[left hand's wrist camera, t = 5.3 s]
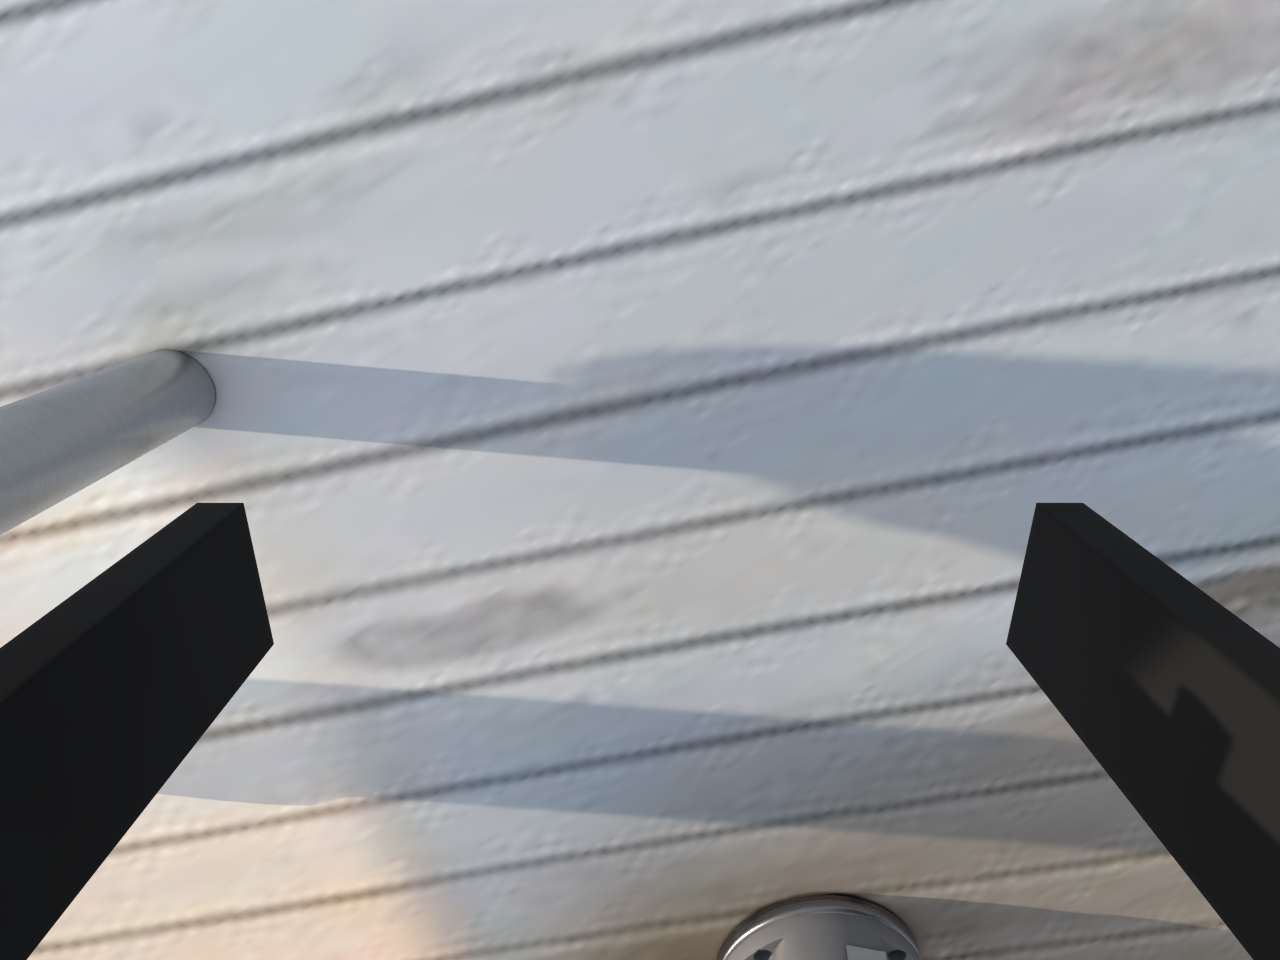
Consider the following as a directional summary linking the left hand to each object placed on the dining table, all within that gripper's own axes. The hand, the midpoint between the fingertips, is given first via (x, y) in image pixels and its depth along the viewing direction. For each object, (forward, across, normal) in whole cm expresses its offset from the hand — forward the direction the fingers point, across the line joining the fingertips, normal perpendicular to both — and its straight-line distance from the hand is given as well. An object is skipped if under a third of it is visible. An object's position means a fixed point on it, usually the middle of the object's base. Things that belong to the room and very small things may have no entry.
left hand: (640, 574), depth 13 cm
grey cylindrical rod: (+28, +25, +4) cm, 38 cm away
